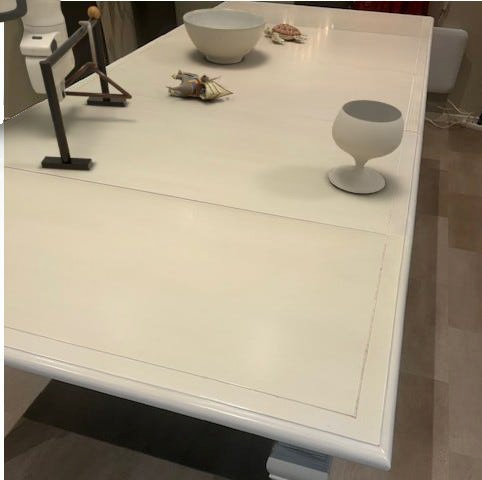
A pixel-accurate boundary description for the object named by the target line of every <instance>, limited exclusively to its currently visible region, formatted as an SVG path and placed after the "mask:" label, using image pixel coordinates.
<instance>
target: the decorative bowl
mask: <svg viewBox="0 0 482 480" xmlns="http://www.w3.org/2000/svg"><path fill="white" fill-rule="evenodd" d="M182 20H183V24H184V28H185V31H186V33H187V35H188V37H189V39H190V41H191V42H192V44H193V45H194V47H195V48H196V49H197V50H198V51H199V52H200V53H202V54H203V55H204V56H205V58H206V60H207V61H209V62H212V63H215V64H221V65H222V64H223V65H231V64H236V63H239V62H241V61H242V60H243V58H244V56H246V55H248V54H249V53H250V52H252V50H253V49H254V48H255V47H256V46H257V44H258V42H259V41H260V39H261V37H262V35H263V33H264V30H265V28H266V24H267V19H266V18H265V17H264V16H263V15H261V14H258V13H257V12H252V11H249V10H244V9H237V8H236V9H235V8H225V7H223V8H220V7H217V8H214V7H213V8H201V9H200V8H199V9H195V10H191V11H188V12H186V13H185V14H184V15H183V16H182Z"/></svg>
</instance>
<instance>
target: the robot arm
mask: <svg viewBox="0 0 482 480" xmlns="http://www.w3.org/2000/svg"><path fill="white" fill-rule="evenodd" d="M17 19H18V20H19V19H21V21H22V24H23V29H24V30H23V35H22V37H21V41H20V44H19V50H20V53H21V55H22V56H25V66H26V71H27V74H28V77H29V81H30V84H31V87H32V89H33V91H34V92H35V93H36V94H44V95H46V91H45V86H44V82H43V78H42V73H41V69H40V64H39V62H40V61H43V60H46V59H47V58H48V57H49V56H50V55H51V54H52V53H53V52H54V51H56V50H57V49H58V48H59V47H60V46H61V45H62V44H63V43H64V42H65V41H66V40H68V39H69V38H70V37H69V35H68V31H67V30H68V29H67V25H66V20H65V16H64V14H63V12H62V7H61V0H0V23H6V22H11V21H14V20H17ZM75 61H76V60H75V56H74V52H73V47H72V48H71V49H70V50H69V51H68V52H67V53H66V54H65V55H64V56H63V57H62V58H61V59H60V60H59V61H58V62H57V63H56V64H55V65H54V66H53V67H52V72H53V77H54V81H55V86H56V91H57V95H58V100H59V103H62V102H63V101H64V100H65V99H66V97H67V96H66V94H65V91H66V88H65V82H66V80H65V78H66V77H67V76H68V75H69V74H70V73H71V72H72V71H73V69H74V68H75V67H76V63H75Z"/></svg>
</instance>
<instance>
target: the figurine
mask: <svg viewBox="0 0 482 480" xmlns="http://www.w3.org/2000/svg"><path fill="white" fill-rule="evenodd" d="M170 77H171V78H172V79H173V80H176V81H177V80H179V81H181V82H180V83H179V85H178V86H175V87H172V86H165V88H167V89H168V91H167V93H168V94H171V95H172V96H175V95H176V96H178V97H182V98H187V97H192V98H195V97H196V98H197V97H198V98H200V99H201V100H203V101H205V100H209V101H211V100H215V99H219V98H222V97H226V96H229V95H234V92H232V91H230V90H228V89H226V88H224V87H222V86H223V85H222V84H220V83H217V82H216V80H218V81H220V80H221V78H222V77H223V75H220V76H216V77H211V78H210V76H207V74H203V75H201V76H199V75H198V74H196V73H191V72H186V71H185V70H180V69H178V72H176V73H173V74H171V76H170Z"/></svg>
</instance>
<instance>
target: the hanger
mask: <svg viewBox="0 0 482 480" xmlns="http://www.w3.org/2000/svg"><path fill="white" fill-rule="evenodd" d="M78 24H79V26H83V25H87V27H88V32H87V34H88V39H89V46H90V52H91V58H92V61H87V62H86V63H84V65H82V66H81V67H80V68H79V69H78V70H77V71H76V72H74V74H72V75H71V76H70V77H69V78H68V79H67V80H65V89H67V88H68V87H69V86H70V85H71V84H72V83H73V82H74V81H75V80H76V79H78V78H79V77H80V76H81V75H82V74H83V73H84V72H86V71H87V70H88V69H90V70H91V71H93V72H94V73H95V74H97V75H98V77H99V76H101V77H102V78H103V79H104V80H106V81H107V82H108V85H111V86H112V87H113V88H114V89H116V90H117V91H118V92H119V93H110V92H109V93H110V94H109V93H102V92H87V91H71V90H68V91H67V90H65V94H66V97H83V98H89V97H101V98H120V99H126V100H131V99H132V98H133V95H132V94H130V92H128V91H126V90H125V89H124V88H123V87H122V86H120V85H119V84H118V83H116V82H115V81H114V80H113V79H112V78H111V77H109V76H108V75H107V76H106V75H105V74H104V73H102V72H101V71H100V70H99V69H98V65H97V58H96V52H95V45H94V39H93V32H92V29H91V24H90V23H89V22H88V20H79V21H78Z"/></svg>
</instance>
